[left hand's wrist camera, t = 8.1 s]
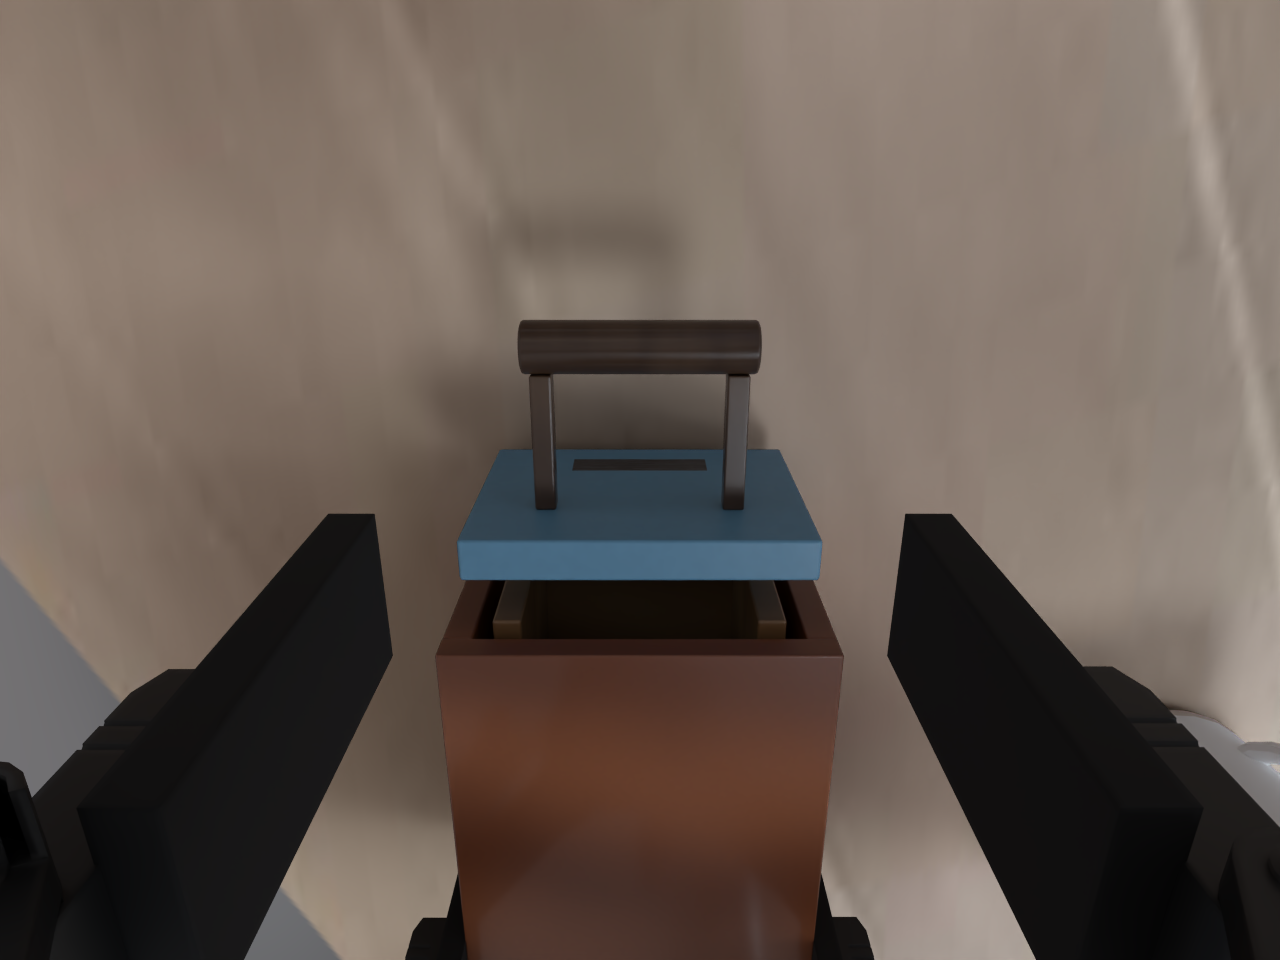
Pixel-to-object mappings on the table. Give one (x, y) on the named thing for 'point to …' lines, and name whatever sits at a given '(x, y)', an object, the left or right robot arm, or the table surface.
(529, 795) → the cabinet
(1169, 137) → the table surface
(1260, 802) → the mug
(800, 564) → the drawer
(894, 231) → the table surface
